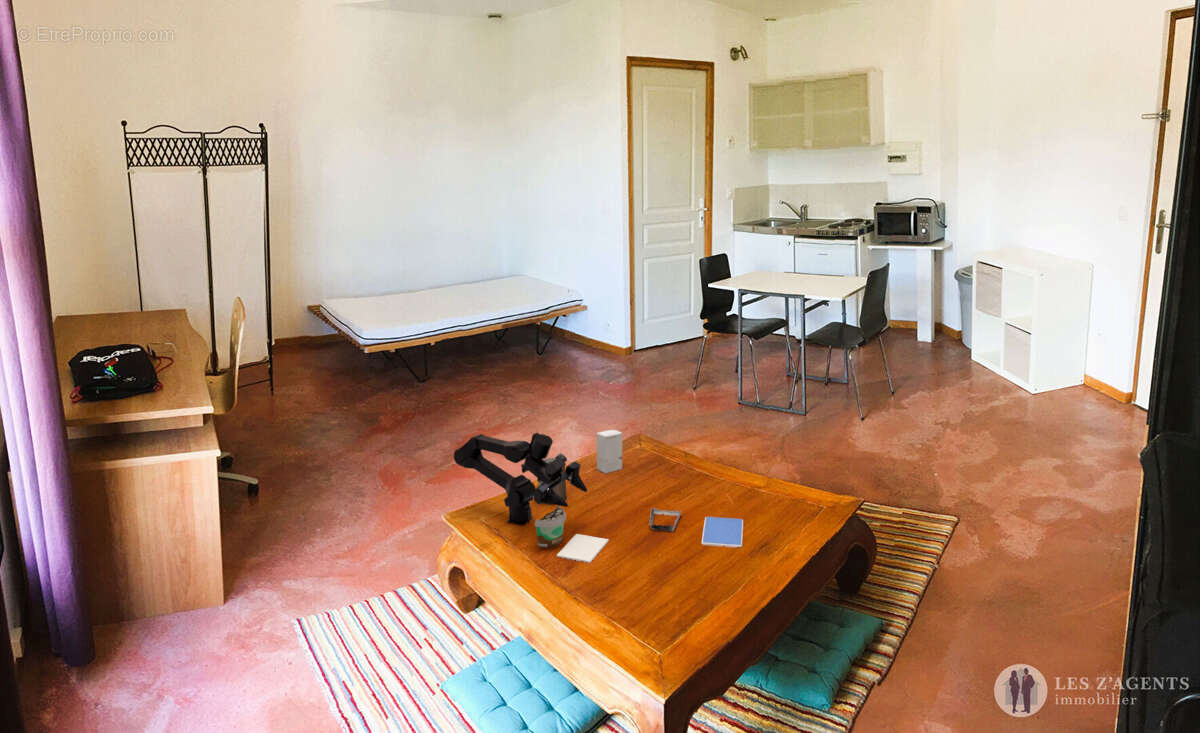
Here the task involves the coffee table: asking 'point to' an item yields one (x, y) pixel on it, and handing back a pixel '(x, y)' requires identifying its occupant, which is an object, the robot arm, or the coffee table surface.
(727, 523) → the blue square panel
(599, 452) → the skincare box
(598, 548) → the white flat rectangular board
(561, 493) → the pillar candle
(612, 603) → the coffee table surface
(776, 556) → the coffee table surface
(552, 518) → the food container
